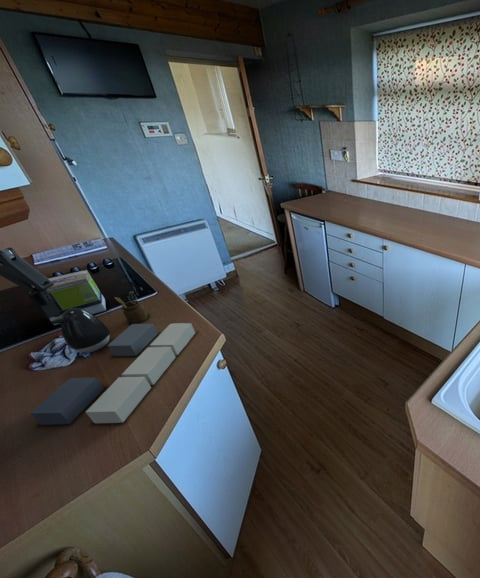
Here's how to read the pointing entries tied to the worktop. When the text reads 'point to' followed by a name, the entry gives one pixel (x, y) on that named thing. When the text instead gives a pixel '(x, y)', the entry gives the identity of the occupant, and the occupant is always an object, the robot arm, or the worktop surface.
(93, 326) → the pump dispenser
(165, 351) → the white book
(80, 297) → the tea box
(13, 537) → the worktop surface
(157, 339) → the white book
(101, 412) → the white book
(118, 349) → the grey book
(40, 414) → the grey book
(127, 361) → the worktop surface
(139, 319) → the utensil holder
